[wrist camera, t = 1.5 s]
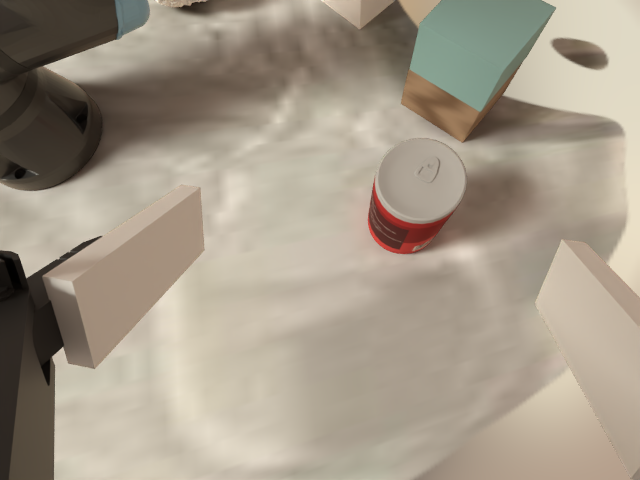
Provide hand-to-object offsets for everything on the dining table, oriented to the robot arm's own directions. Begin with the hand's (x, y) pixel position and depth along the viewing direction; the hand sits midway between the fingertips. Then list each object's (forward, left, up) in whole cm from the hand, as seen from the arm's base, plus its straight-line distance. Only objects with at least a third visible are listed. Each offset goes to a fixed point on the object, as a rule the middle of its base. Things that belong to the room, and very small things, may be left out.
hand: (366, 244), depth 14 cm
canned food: (-2, +12, -27) cm, 30 cm away
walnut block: (-7, +29, -27) cm, 40 cm away
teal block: (-7, +29, -21) cm, 37 cm away
